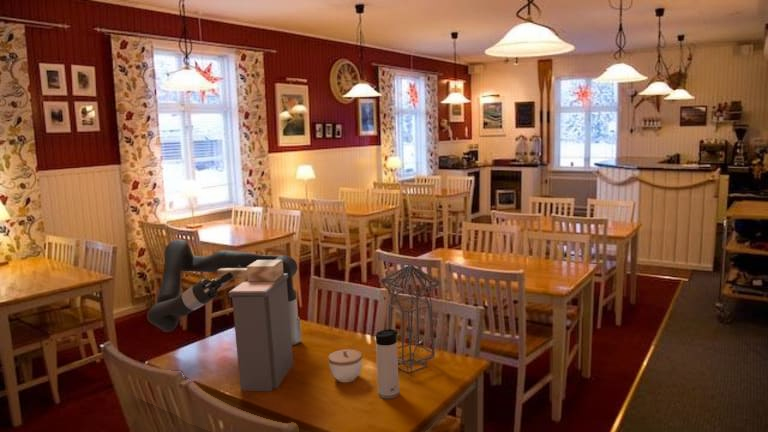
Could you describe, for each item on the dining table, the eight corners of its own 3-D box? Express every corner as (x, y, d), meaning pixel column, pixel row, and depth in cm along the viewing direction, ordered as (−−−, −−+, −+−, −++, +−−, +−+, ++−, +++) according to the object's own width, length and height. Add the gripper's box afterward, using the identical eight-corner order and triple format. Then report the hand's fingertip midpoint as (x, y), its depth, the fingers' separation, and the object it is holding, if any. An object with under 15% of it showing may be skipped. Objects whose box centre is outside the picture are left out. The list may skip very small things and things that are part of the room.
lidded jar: (337, 388, 180) (335, 360, 179) (324, 376, 190) (323, 349, 188) (368, 380, 185) (367, 352, 184) (354, 368, 194) (353, 342, 193)
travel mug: (398, 399, 171) (395, 335, 168) (376, 398, 172) (373, 334, 169) (402, 390, 177) (399, 327, 174) (380, 389, 178) (377, 327, 175)
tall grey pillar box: (237, 390, 182) (228, 291, 177) (261, 362, 204) (254, 273, 199) (274, 391, 181) (266, 291, 175) (294, 362, 202) (288, 272, 197)
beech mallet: (213, 281, 191) (212, 266, 190) (225, 274, 200) (224, 260, 199) (274, 281, 187) (273, 266, 187) (283, 274, 196) (282, 259, 195)
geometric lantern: (415, 353, 205) (414, 257, 199) (444, 369, 192) (443, 266, 186) (378, 364, 196) (375, 264, 190) (405, 381, 183) (403, 274, 177)
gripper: (183, 291, 190) (221, 266, 186) (202, 279, 204) (238, 256, 200) (196, 310, 190) (234, 286, 187) (214, 297, 204) (250, 274, 201)
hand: (236, 271), depth 194 cm, fingers open, 8 cm apart
